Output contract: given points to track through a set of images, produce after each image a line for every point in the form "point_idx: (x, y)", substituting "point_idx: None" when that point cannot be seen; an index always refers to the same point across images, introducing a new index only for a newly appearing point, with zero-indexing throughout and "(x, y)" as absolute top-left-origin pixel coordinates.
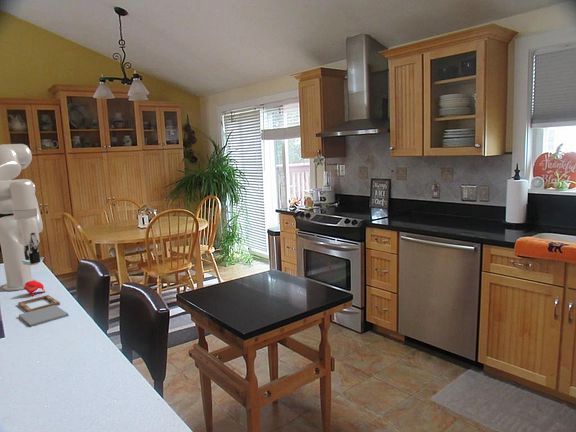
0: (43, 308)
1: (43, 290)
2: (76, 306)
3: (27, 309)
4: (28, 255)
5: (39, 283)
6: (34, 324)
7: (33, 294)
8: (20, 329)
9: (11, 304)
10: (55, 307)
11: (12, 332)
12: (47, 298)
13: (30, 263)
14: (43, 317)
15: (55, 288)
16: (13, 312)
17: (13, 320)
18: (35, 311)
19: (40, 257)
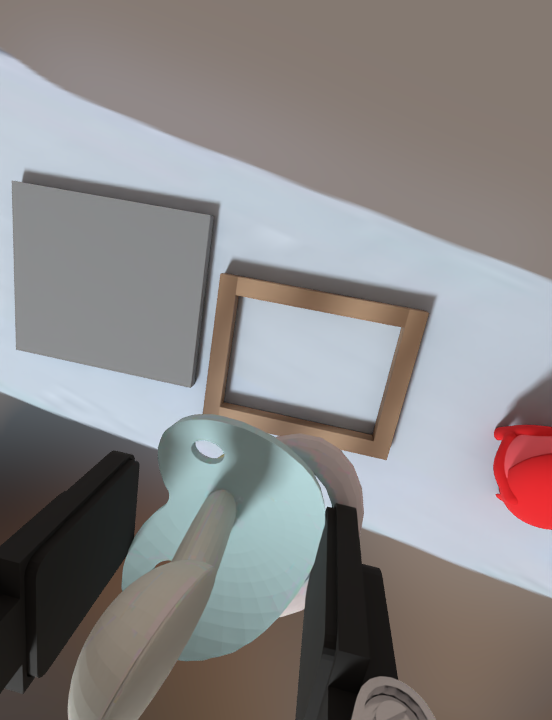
0: (189, 332)
1: (496, 494)
2: (113, 430)
3: (243, 279)
4: (180, 560)
5: (525, 511)
6: (15, 199)
7: (499, 436)
8: (29, 138)
9: (484, 295)
10: (149, 368)
11: (20, 95)
12: (344, 431)
13: (166, 464)
14: (59, 264)
15: (503, 553)
16: (320, 234)
17: (188, 175)
18: (181, 288)
19: (243, 643)
